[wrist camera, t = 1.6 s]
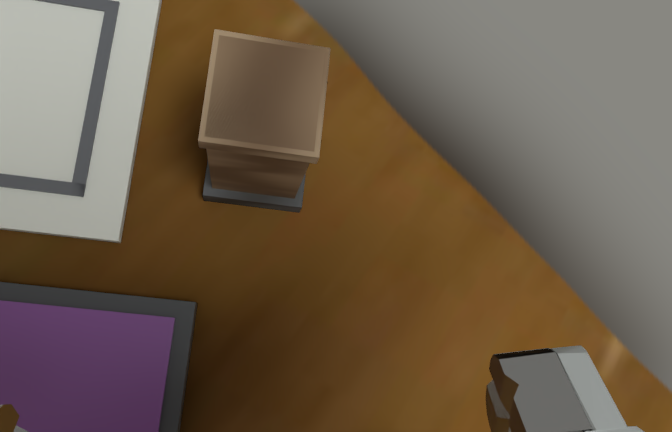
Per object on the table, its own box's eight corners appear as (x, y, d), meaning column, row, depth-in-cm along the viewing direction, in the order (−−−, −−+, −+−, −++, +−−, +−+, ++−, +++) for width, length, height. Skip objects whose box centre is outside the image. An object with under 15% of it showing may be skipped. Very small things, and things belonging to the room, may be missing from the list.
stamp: (204, 200, 31) (191, 145, 22) (216, 110, 32) (209, 23, 23) (299, 212, 31) (323, 163, 23) (308, 123, 32) (336, 44, 24)
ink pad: (-120, 487, 26) (-144, 497, 24) (-70, 276, 28) (-89, 272, 26) (169, 504, 28) (165, 514, 26) (197, 304, 30) (195, 301, 28)
